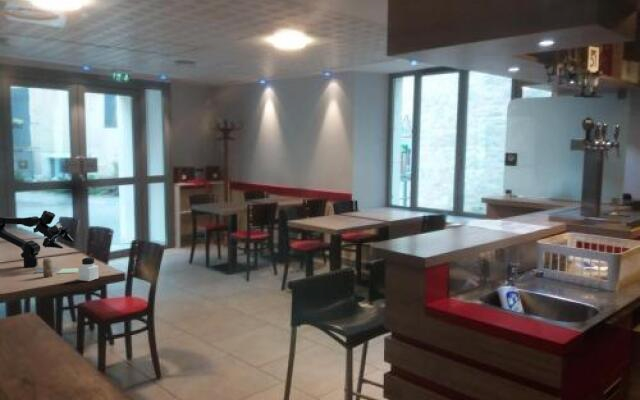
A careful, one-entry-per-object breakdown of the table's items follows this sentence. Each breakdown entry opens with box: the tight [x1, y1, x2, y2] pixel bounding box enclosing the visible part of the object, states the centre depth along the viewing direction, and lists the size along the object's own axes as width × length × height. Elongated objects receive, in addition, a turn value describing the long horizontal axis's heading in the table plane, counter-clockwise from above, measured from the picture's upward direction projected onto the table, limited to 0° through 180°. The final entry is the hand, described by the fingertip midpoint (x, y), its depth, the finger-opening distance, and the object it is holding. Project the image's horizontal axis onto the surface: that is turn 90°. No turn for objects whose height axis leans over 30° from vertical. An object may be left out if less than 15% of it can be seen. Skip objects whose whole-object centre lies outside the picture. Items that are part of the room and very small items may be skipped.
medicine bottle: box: [77, 256, 99, 282], centre depth 272 cm, size 7×7×12 cm
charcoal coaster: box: [33, 267, 58, 274], centre depth 291 cm, size 10×10×1 cm
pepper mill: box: [42, 257, 53, 279], centre depth 277 cm, size 4×4×10 cm
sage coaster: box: [57, 267, 79, 275], centre depth 289 cm, size 10×10×1 cm
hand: (68, 244), depth 298 cm, fingers open, 9 cm apart
